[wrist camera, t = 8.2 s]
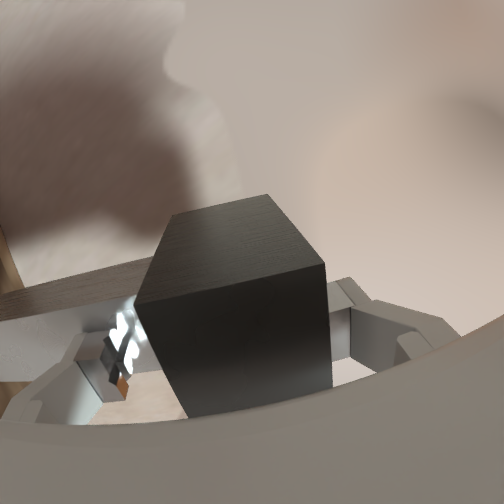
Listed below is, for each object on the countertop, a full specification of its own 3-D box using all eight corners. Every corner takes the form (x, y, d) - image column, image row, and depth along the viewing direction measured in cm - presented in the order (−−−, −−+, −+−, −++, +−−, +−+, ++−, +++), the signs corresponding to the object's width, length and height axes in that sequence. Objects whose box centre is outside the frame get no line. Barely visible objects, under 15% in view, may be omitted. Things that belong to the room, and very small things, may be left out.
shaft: (-50, 284, 12) (-113, 344, 5) (267, 194, 13) (324, 262, 6) (-16, 349, 14) (-63, 419, 7) (285, 297, 15) (333, 412, 8)
